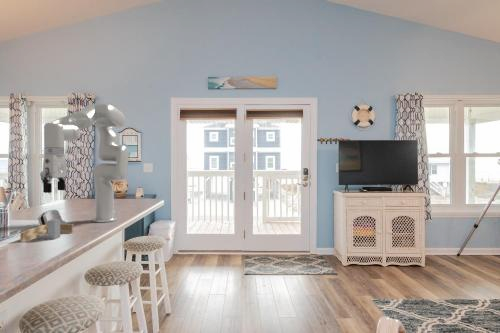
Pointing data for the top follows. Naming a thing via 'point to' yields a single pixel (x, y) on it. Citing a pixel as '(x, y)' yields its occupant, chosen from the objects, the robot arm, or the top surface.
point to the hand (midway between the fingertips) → (54, 191)
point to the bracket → (51, 230)
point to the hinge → (49, 217)
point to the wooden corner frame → (43, 231)
